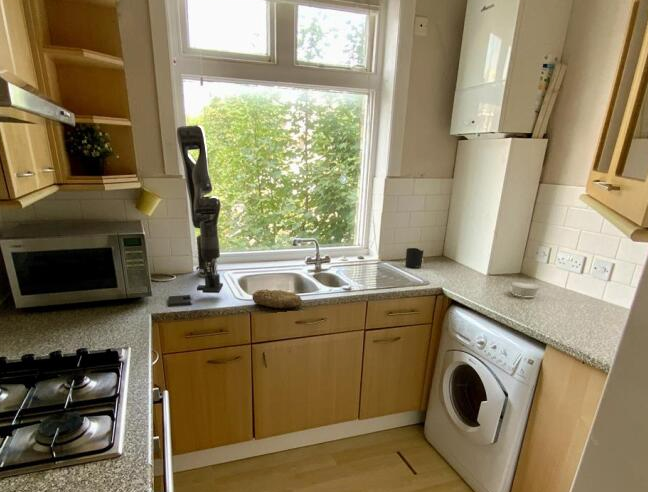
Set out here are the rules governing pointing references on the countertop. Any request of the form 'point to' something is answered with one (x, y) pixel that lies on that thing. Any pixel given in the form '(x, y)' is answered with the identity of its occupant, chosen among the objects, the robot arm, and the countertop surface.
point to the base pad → (179, 300)
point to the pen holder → (414, 258)
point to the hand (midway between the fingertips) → (212, 285)
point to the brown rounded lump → (277, 299)
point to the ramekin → (524, 289)
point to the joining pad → (208, 289)
